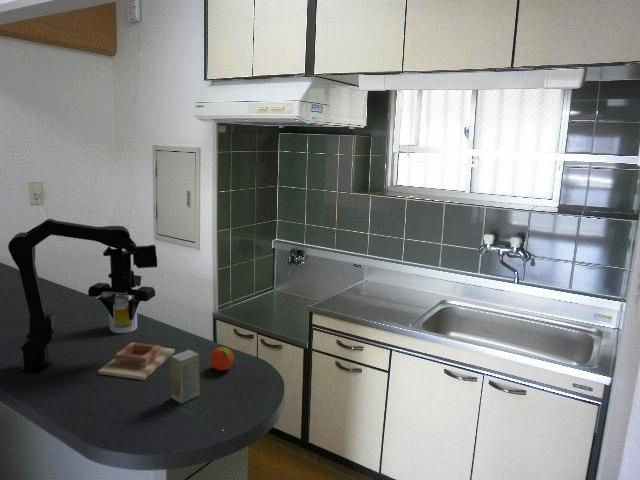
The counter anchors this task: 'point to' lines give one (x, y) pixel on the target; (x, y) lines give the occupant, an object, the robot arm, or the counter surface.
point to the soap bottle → (124, 329)
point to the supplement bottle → (121, 313)
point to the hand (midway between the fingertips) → (123, 318)
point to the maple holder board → (137, 361)
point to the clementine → (221, 358)
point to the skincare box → (185, 376)
